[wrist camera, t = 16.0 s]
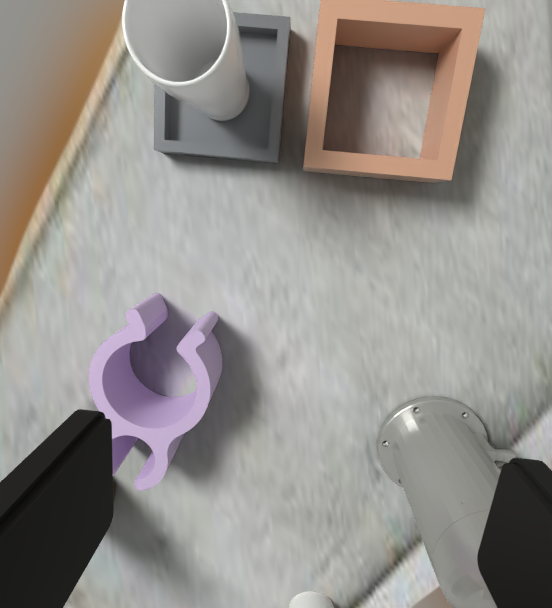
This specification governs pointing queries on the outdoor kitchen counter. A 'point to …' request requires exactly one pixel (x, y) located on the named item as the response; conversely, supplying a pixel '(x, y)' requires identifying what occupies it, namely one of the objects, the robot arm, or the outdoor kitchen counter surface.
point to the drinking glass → (190, 52)
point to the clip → (143, 402)
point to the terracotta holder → (408, 37)
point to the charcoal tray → (256, 115)
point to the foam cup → (311, 601)
